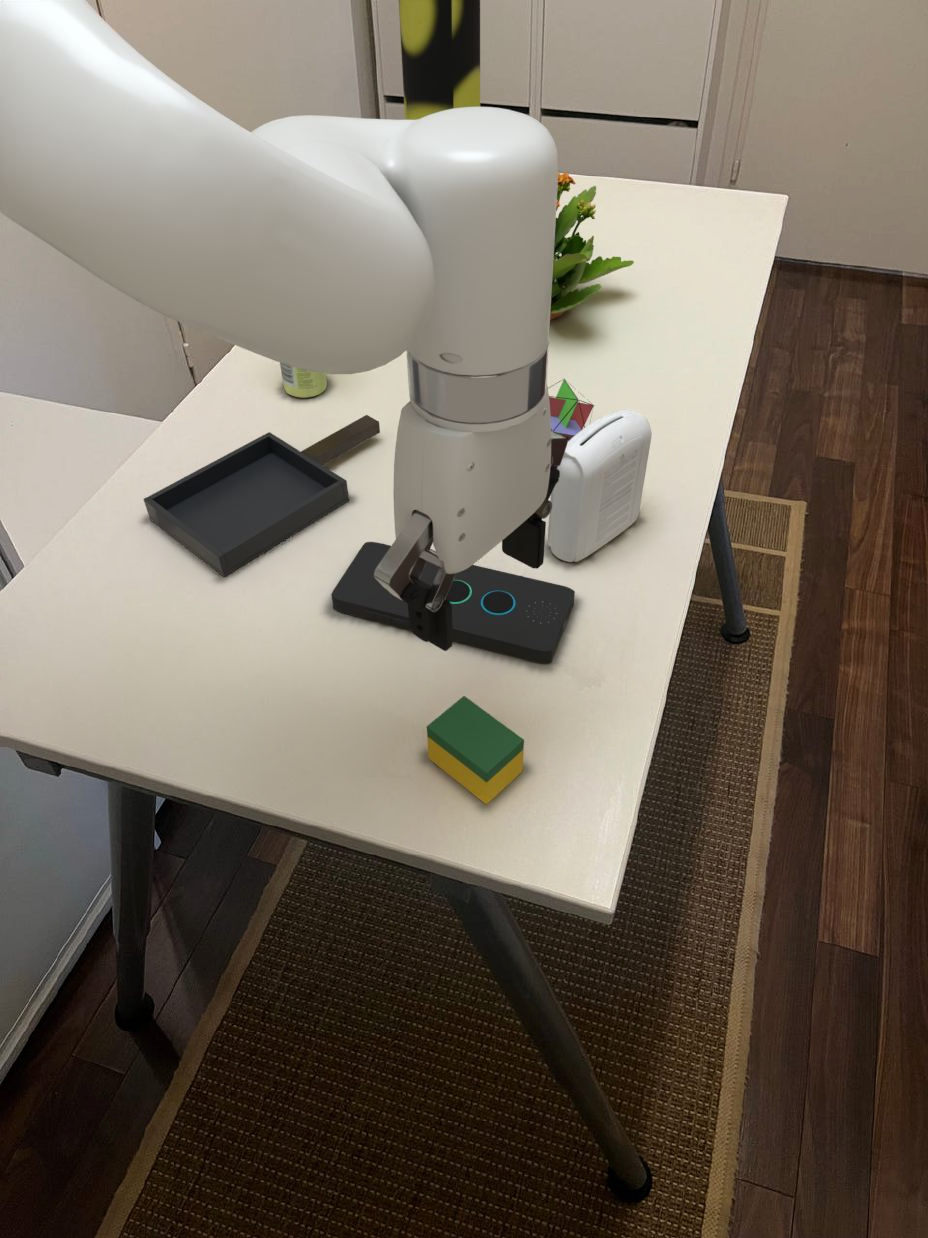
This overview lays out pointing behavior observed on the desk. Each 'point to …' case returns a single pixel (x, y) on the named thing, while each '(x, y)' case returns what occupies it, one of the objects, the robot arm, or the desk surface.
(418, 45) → the container
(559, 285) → the potted flower
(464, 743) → the sponge
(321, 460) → the pan handle
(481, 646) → the smart home device
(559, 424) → the geometric puzzle
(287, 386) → the tube
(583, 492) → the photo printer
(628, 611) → the desk surface
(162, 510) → the pan
